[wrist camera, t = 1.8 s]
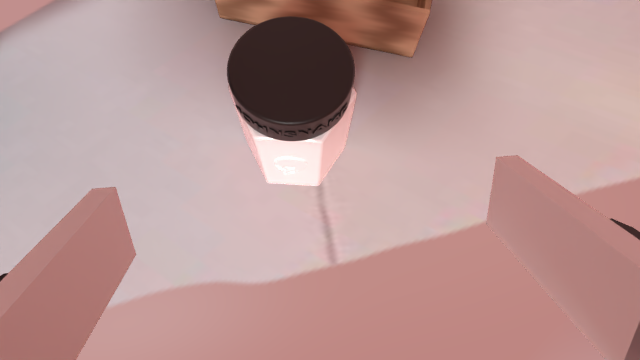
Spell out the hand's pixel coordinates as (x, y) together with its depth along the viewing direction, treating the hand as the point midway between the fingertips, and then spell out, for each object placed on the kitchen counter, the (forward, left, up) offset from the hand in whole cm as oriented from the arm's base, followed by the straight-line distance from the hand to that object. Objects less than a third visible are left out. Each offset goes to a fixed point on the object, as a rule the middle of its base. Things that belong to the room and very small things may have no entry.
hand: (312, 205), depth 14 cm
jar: (-4, +11, -20) cm, 23 cm away
